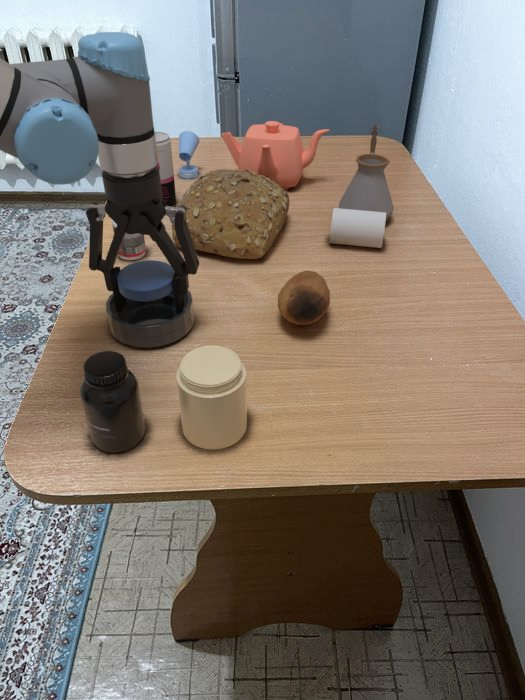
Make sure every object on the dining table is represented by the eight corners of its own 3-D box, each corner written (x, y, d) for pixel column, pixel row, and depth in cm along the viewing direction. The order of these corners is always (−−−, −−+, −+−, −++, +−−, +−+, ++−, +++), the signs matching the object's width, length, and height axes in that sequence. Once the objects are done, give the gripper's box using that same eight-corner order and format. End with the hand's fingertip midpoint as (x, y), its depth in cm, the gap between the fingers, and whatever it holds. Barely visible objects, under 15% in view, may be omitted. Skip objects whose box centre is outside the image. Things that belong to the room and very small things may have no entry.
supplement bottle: (90, 458, 69) (70, 386, 62) (92, 418, 74) (74, 348, 67) (147, 450, 70) (134, 378, 63) (145, 411, 75) (133, 341, 68)
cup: (381, 238, 114) (332, 233, 115) (386, 206, 110) (335, 202, 111) (380, 254, 109) (328, 249, 110) (385, 222, 104) (331, 217, 106)
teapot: (325, 185, 134) (330, 125, 126) (264, 204, 126) (264, 141, 117) (279, 162, 146) (280, 105, 137) (219, 178, 137) (216, 119, 128)
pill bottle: (115, 250, 109) (107, 202, 103) (142, 245, 111) (136, 198, 105) (121, 263, 105) (112, 215, 99) (149, 258, 107) (142, 210, 101)
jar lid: (176, 299, 83) (175, 288, 82) (116, 303, 82) (114, 292, 81) (176, 269, 90) (175, 258, 89) (120, 272, 89) (118, 261, 88)
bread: (202, 203, 126) (198, 149, 119) (295, 214, 122) (298, 159, 114) (159, 255, 108) (152, 196, 100) (267, 271, 104) (268, 210, 96)
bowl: (100, 348, 86) (94, 324, 83) (123, 299, 96) (119, 277, 93) (186, 352, 85) (183, 329, 82) (200, 303, 95) (198, 280, 93)
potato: (297, 314, 98) (338, 292, 96) (294, 347, 86) (340, 323, 84) (275, 279, 96) (315, 255, 94) (267, 308, 84) (314, 281, 82)
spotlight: (182, 168, 142) (176, 179, 136) (179, 127, 136) (172, 137, 130) (202, 169, 141) (196, 180, 136) (199, 128, 135) (193, 138, 130)
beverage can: (179, 199, 127) (173, 131, 118) (173, 212, 122) (166, 142, 113) (151, 198, 128) (142, 130, 118) (143, 210, 123) (134, 141, 113)
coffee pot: (391, 233, 115) (403, 161, 106) (335, 228, 117) (342, 156, 107) (392, 191, 132) (402, 125, 122) (342, 187, 133) (349, 122, 124)
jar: (176, 447, 71) (168, 385, 64) (188, 400, 77) (182, 340, 71) (243, 451, 70) (242, 390, 64) (249, 404, 77) (249, 343, 70)
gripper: (214, 159, 77) (221, 297, 91) (60, 154, 78) (91, 292, 92) (206, 181, 71) (215, 325, 85) (39, 176, 72) (76, 319, 86)
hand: (151, 308), depth 89 cm, fingers closed on jar lid, 9 cm apart
